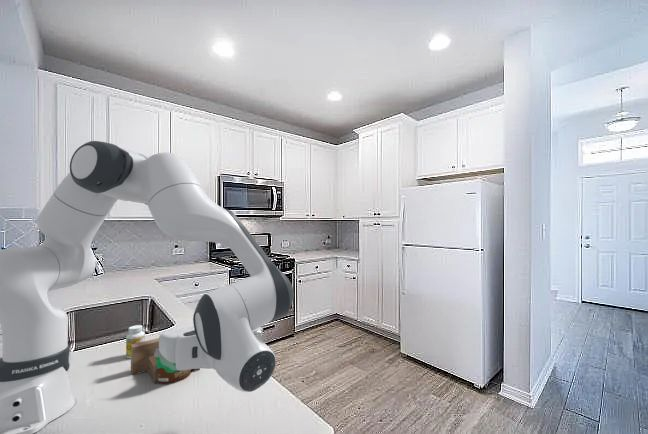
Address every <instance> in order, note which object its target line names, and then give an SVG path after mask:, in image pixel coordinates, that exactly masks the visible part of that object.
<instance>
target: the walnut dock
mask: <svg viewBox="0 0 648 434" xmlns="http://www.w3.org/2000/svg"><path fill="white" fill-rule="evenodd" d="M156 348H157V349H159V337H158V338H153V339H150V340H149V339H148V340H145V341H144V342H140V343H135V344H131V359H130V373H131V375H132V376H133V375H137V374H141V373H143V372H145V373H146V372H148V374H149V376H150V377H151V378H152V381H153V382H154V384H158V372H157V360H156V357H154V353H155V351H156ZM200 369H201V368H199V369H192V370H193V371H194V372H197V371H200Z"/></svg>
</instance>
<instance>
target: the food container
mask: <svg viewBox="0 0 648 434" xmlns="http://www.w3.org/2000/svg"><path fill="white" fill-rule="evenodd" d="M154 357H156V360H157V372H158V383H157V384H158V385H169V384H170V385H171V384H176V383H179V382H181V381H184V380H186V379H187V378H188V377H190V375H191V373H192V372H191V371H192V369H189V370H182V371H180V370H177V369H176V363H172V362H169V361H168V360H166V359H165V358H164V357H163V356H162V355H161V353H160V351H159V349H157V348H156V351H155V353H154Z"/></svg>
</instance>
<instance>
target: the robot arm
mask: <svg viewBox="0 0 648 434" xmlns="http://www.w3.org/2000/svg"><path fill="white" fill-rule="evenodd" d="M118 200H120V201H123V202H131V203H132V202H133V203H138V204H145V205H147V207H148V209H149V212H150V214H151V216H152V219H153V220H154V222H155V224H156V226H157V227H158V228H159V230H160V231H161V232H163V233H164V234H165V235H167V236H169V237H171V238H174V239H177V240H180V241H188V242H210V243H216V244H220V245H223V246H225V247H227V248H229V249H230V250H231V251H232V252H233V254H234V256H235V257H236V258H237V259H238V260H239V261H240V263H241V265H242V266H243V267H244V268H245V270H246V271H247V273H248V274H249V275H250V276H248V277H245V278H243V279H240V280H238V281H235V282H233V283H230V284H226V285H224V286H222V287H219V288H216V289H215V290H214V289H213V290H211V291H209V292H207V293H204V294H203V295H202V296H201V298H200V299H199V300H198V303H197V304H196V307H195V310H194V313H193V317H192V321H193V322H192V323H193V326H189V327H185V328H179V329H175V330H174V329H173V330H169V331H164V332H162V333H161V334H159V337H158V338H159V351H160V353H161V355H162V356H163V357H164V358H165V359H166V360H168V361H169V362H172V363H176V369H177V370H180V371H182V370H189V369H191V370H193V369H199V368H200V369H208V370H210V369H211V370H212V369H213V370H214V371H215V372H216V373H217V374H218V376H219V377H220V378H221V379H222V380H223V381H224V382H225V383H227V384H228V385H229V386H231V387H232V388H234V389H235V390H237V391H240V392H244V393H252V392H254V391H256V390H258V389H260V388H261V387H262V386H264V385H265V384H266V383H267V382H268V381H269V380H270V378H271V377H272V375H273V373H274V371H275V369H276V363H277V358H276V355H275V353H274V351H273V350H272V349H271V348H270V347H269V345H267V344H266V343H265V342H264V341H263V340H262V339H260V338H259V335H261V333H263V331H264V328H263V326H264V325H267V324H269V323H273V322H275V321H278V320H280V319H281V318H284V317H287V315H288V314H289V312H290V310H291V308H292V305H293V301H294V297H295V293H294V287H293V285H292V282H291V281H290V279H289V278H288V277H287V276H286V274H285V273H284V272H283V271H281V270H280V269H279V268H278V267H277V266H276V264H274V263H273V261H272V260H271V259H270V258H269V256H268V255H267V254H266V252H265V250H264V249H262V247H261V246H260V244H259V243H258V242H257V240H256V239H255V238H254V236H253V235H252V233H250V231H249V230H248V229H247V228H246V226H245V225H244V224H243V222H242V221H241V220H240V219H239V218H238V216H237V215H236V214H235V213H234V212H233V211H232V210H229V209H226V208H224V207H221V206H220V205H219V204H217V203H216V202H215V201H214V200H212V199H211V198H210V196H208V194H207V193H206V191H205V190H204V187H203V186H202V184H201V183H200V181H199V179H198V177H197V176H196V174H195V173H194V171H193V170H192V169H191V167H190V166H189V165H188V163H187V162H186V161H185V159H183V158H182V157H181V156H179V155H177V154H174V153H172V152H157V153H154V154H153V155H152V154H151V155H150V156H146V155H144V154H141V153H139V152H138V153H137V152H135V151H131V150H129V149H127V148H126V149H125V148H122V147H120V146H117V145H116V144H114V143H109V142H105V141H99V140H90V141H88V142H85V143H84V144H82V145H80V146H79V147H78V148H77V149H75V151H73V154H72V156H71V158H70V161H69V172H68V173H67V175H66V176H65V177H64V178H63V179H62V180H61V182H60V183H59V184H58V185H57V187H56V188H55V190H54V192H53V193H52V194H51V196H50V197H49V199H48V201H47V202H46V203H45V206H43V208H42V210H41V212H40V213H39V214H38V215H37V219H36V224H37V227H38V229H39V230H40V231H41V234H43V236H46V237H45V239H44V241H43V242H42V243H41V244H39V245H37V246H28V247H27V246H26V247H14V248H3V249H0V328H1V329H0V330H1V341H2V348H1V349H2V353H1V354H2V357H1V356H0V434H35V433H37V432H39V431H41V429H43V428H44V427H45V426H47V424H48V423H51V422H52V421H54V420H56V419H58V418H59V417H61V416H62V415H64V414H65V413H67V412H68V411H69V410H70V409H71V408H72V407H74V405H75V403H76V398H75V395H74V393H73V389H72V386H71V385H72V384H71V380H70V373H69V369H70V366H71V356H72V355H71V354H72V353H71V346H70V344H69V342H68V341H69V316H68V314H67V313H66V311H64V310H63V309H61V308H59V307H55V306H52V304H51V303H50V301H49V297H48V292H49V291H50V292H51V291H55V290H59V289H64V288H69V287H72V286H74V285H76V284H77V285H78V284H79V283H81V282H83V281H85V280H88V279H89V278H91V276H92V275H93V274H94V272H95V269H96V263H97V261H96V257H95V255H94V253H93V252H92V251H91V247H92V246H91V245H92V242H93V240H94V237H95V236H96V234H97V232H98V231H99V229H100V227H101V226H102V224H103V223H104V221H105V220H106V218H107V216H108V215H109V214H110V212H111V210H112V209H113V207H114V206H115V204H116V202H117V201H118Z"/></svg>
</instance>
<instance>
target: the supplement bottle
mask: <svg viewBox="0 0 648 434" xmlns="http://www.w3.org/2000/svg"><path fill="white" fill-rule="evenodd" d="M143 330H144V329H143V325H141V324H136V325H132V326H129V327H128V334H127V335H126V337H125V340H126V341H125V355H126V358H127V359H130V360H131V344H135V343H140V342H144V341H146V333H145V332H144V331H143Z"/></svg>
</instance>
